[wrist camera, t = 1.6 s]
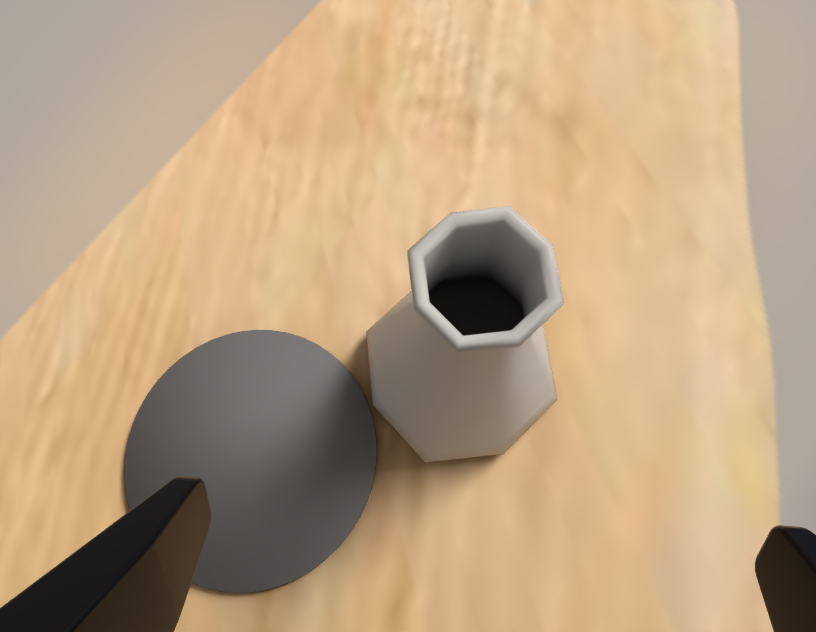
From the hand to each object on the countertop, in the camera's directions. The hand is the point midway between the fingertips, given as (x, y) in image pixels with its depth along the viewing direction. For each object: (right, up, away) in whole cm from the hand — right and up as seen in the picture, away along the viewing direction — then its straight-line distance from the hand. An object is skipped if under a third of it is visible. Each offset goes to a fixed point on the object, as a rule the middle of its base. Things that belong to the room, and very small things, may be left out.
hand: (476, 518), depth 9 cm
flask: (+1, +1, +12) cm, 12 cm away
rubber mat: (-7, -2, +12) cm, 14 cm away
